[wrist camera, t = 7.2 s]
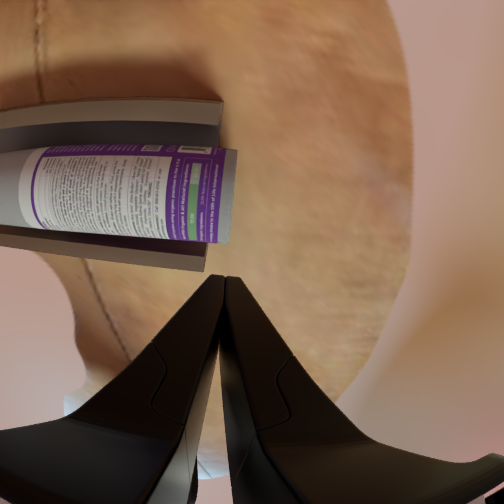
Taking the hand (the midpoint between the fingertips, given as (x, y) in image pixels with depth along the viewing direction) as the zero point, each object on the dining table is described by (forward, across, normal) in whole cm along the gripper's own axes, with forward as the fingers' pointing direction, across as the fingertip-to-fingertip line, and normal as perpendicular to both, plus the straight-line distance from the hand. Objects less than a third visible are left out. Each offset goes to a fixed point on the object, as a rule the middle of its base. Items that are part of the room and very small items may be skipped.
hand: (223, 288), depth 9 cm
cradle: (+10, +9, 0) cm, 13 cm away
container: (+7, 0, 0) cm, 7 cm away
